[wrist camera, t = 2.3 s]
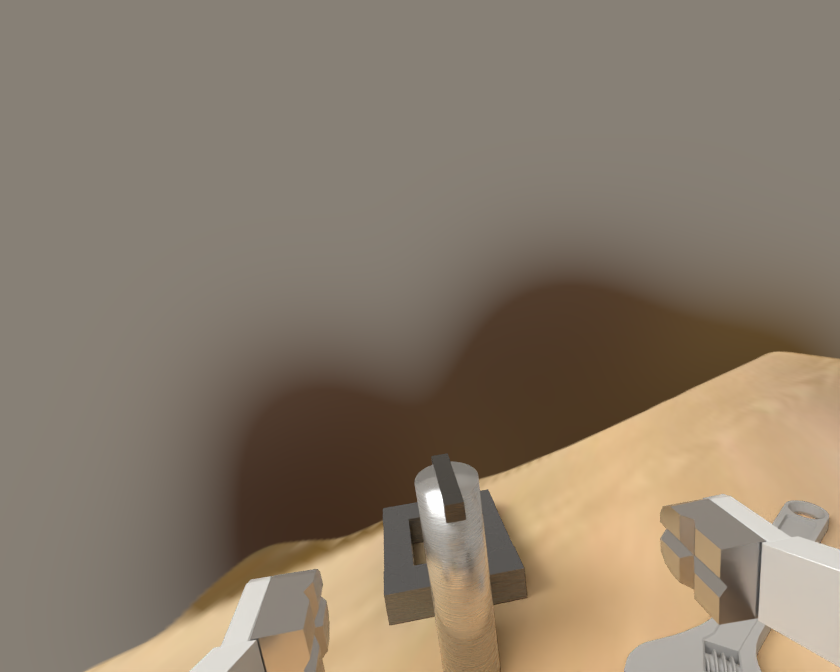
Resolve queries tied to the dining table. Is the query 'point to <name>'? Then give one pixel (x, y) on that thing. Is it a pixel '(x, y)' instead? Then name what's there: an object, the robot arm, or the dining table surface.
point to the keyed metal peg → (458, 565)
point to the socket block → (411, 582)
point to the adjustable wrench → (733, 642)
